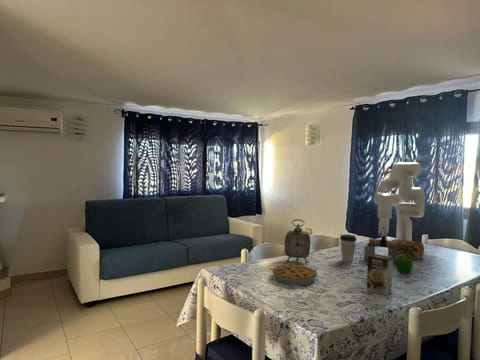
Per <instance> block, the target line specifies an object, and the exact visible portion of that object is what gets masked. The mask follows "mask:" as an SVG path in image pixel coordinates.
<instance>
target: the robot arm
mask: <svg viewBox="0 0 480 360" xmlns="http://www.w3.org/2000/svg"><path fill="white" fill-rule="evenodd" d="M422 171H423V170H422V165H421V163H420V162H395V163H394V164H393V165H392V168H391V170H390V172H389V176H388V179H386V180H385V181H383V182H382V183H381V184H379V185H378V187H376V191H375V194H374V198H373V200H374V203H375V204H376V205H377V218H379V221H378V235H380V239H381V242H380V246H382V247H381V248H385V247H386V241H387V240H388V238H387V235H388V234H389V230H390V219H392V218H393V217H392V215H393V212H392V211H393V207H395V211H396V238H395V239H398V240H408V241H412V240H413V239H412V237H413V236H412V233H413V222H412V220H411V217H412V218H423V217H424V215H425V208H426V207H425V203H426V202H425V200H426V199H425V198H426V197H425V195H426V193H425V190H424V189H423V188H421V187H415V186H413V178H412V177H418V176H420V175H421V174H422ZM394 189H398V194H397V193H390V192H387V191H390V190H394ZM401 201H402V202H401ZM406 201H407V202H406Z"/></svg>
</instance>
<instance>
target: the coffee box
mask: <svg viewBox="0 0 480 360" xmlns="http://www.w3.org/2000/svg"><path fill="white" fill-rule="evenodd" d="M393 266H394V265H393V257H390V256H388V255H383V254H378V253H375V254H371V255H368V261H367V272H366V273H367V275H366V276H367V277H366V278H367V279H366V291H370V292H372V293H375V294H379V293H380V295H382V294H383V296H388V295H390V294H391V293H392V285H393V283H392V282H393V281H392V280H393ZM387 294H388V295H387Z"/></svg>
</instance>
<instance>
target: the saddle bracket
mask: <svg viewBox="0 0 480 360" xmlns="http://www.w3.org/2000/svg"><path fill="white" fill-rule="evenodd" d="M396 250H397V249H394V248H391V253H390V254H389V255H390V256H389V257H393V266H394V265H395V266H396V258H397V256H396Z"/></svg>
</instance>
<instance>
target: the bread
mask: <svg viewBox="0 0 480 360" xmlns="http://www.w3.org/2000/svg"><path fill="white" fill-rule="evenodd" d="M391 241H399V246H398V249H397V250H396V257H399V254H403V255H404V256H405V257H407V258H410V259H412V260H420V259H423V257H424V255H425V254H424V253H425V246H424V243H422V242H420V241H413V240H411V241H408V240H398V239H396V238H395V239H392V240H391ZM387 253H388V254H389V255H390V253H391V248H387ZM400 257H403V256H400Z"/></svg>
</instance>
